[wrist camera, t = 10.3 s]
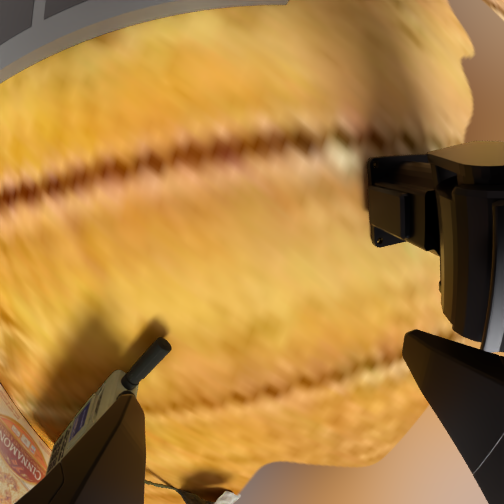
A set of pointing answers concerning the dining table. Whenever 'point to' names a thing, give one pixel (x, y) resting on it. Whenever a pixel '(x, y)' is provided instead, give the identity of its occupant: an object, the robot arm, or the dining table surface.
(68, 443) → the handheld radio
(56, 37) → the power strip
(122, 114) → the dining table surface
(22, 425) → the coffeecake box
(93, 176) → the dining table surface
